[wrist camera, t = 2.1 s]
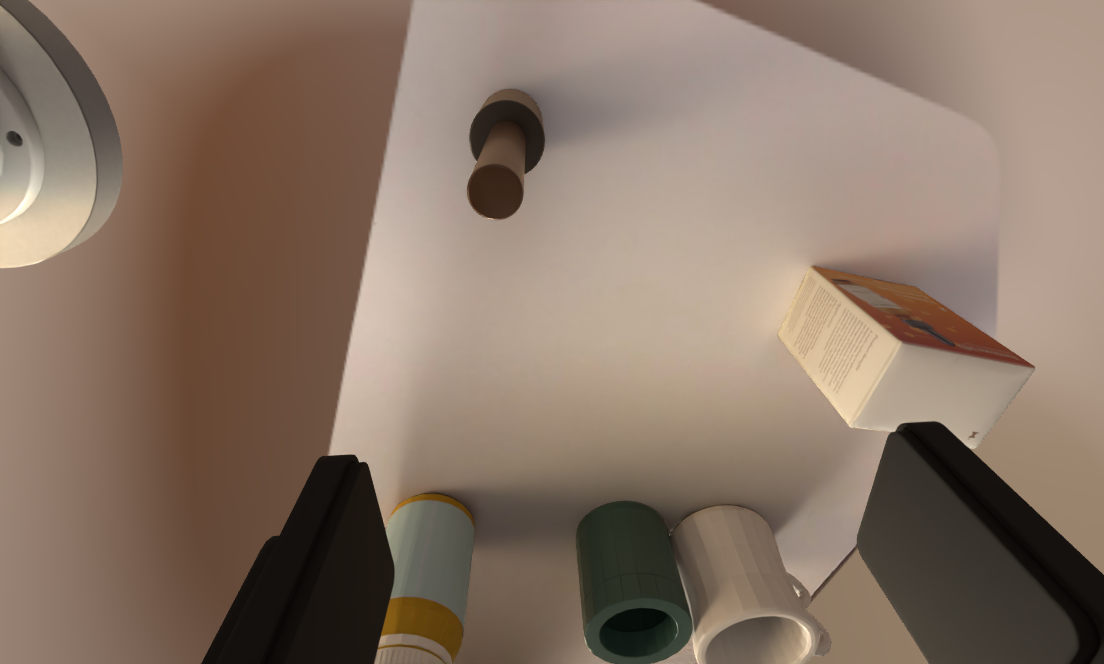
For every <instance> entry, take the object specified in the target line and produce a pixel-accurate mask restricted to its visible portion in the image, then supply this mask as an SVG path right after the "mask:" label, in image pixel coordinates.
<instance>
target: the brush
mask: <svg viewBox="0 0 1104 664" xmlns="http://www.w3.org/2000/svg"><path fill="white" fill-rule="evenodd" d="M469 141H470V147H471V151H472V153H473V156H474V158H475V159H476V161H477V163H476V165H475V168H474V170H473V172H472V175H471V177H470V179H469V181H468V185H467V196H468V200H469V203H470V205H471V206H472V208H473V209H474V210H475V211H476V212H477V213H478V214H479V215H481V216H482V217H485V218H487V219H491V220H502V219H505V218H508V217H510V216H511V215H513V214H514V213H515V212H516V211H517V210H518V209H519V207H520V205H521V203H522V200H523V192H524V174H526V173H528V172H529V171H531V170H532V169H533V168H534V167H535V166H536V165H537V163H538V162H539V160H540V158H541V156H542V154H543V151H544V146H545V135H544V127H543V120H542V114H541V111H540V109H539V107H538V105H537V103H536V102H535V101H534V100H533V99H532V98H531V97H530V96H529V95H528V94H526V93H524V92H522V91H520V90H516V89H505V90H501V91H498V92H496V93H494V94H493V95H492V96H490V97H489V98H488V99H487V101H486V102H485V103H484V105H483V106H482V108H481V109H480V111H479V112H478V114H477V115H476V117H475V118H474V120H473V122H472V125H471V129H470V135H469Z"/></svg>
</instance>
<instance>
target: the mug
mask: <svg viewBox="0 0 1104 664" xmlns="http://www.w3.org/2000/svg"><path fill="white" fill-rule="evenodd" d="M670 542H671V545H672V549H673V553H674V556H675V560H676V564H677V567H678V571H679V575H680V578H681V582H682V585H683V589H684V593H685V597H686V600H687V604H688V607H689V611H690V614H691V618H692V624H693V631H692V639H693V645H694V652H695V656H696V661H697V664H806V663H807V662H808V661H809V660H810V658H811V657H812V656H813V655H816V656H824V655H826V654H827V653H828V652H829V650H830V647H831V639H830V636H829V634H828V632H827V631H826V629H825V628H824V627H823V625H821V623H820V622H819V621H818V620H817V619H815V617H813V616H812V615H811V614H810V613H809V612H808V611H807V610H806V608H807V607H808V606H809V604H810V601H811V597H810V594H809V592H808V590H807V589H806V588H805V587H804V586H803V585H802V583H801V582H799V581H798V580H797V579H796V578H795V577H793V576H792V575H791V574H789V573H787V572H786V570H785V567H784V565H783V562H782V559H781V556H780V553H779V550H778V547H777V543H776V541H775V538H774V535H773V532H772V531H771V529H770V527H769V525H768V523H767V522H766V521H765V520H764V519H763V518H762V517H761V516H760V515H759V514H758V513H756V512H754V511H751V510H749V509H747V508H743V507H738V506H732V505H718V506H713V507H709V508H705V509H702V510H700V511H697V512H695V513H693V514H691V515H690V516H688V517H687V518H685V519H684V520H683V521H682V522H681V523H680V524H679V525H678V526H677V527H676V528H675V529H674V530H673V532H672V534H671V536H670ZM796 593H797V594H798V595H797V594H796ZM798 596H799V597H798Z"/></svg>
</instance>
